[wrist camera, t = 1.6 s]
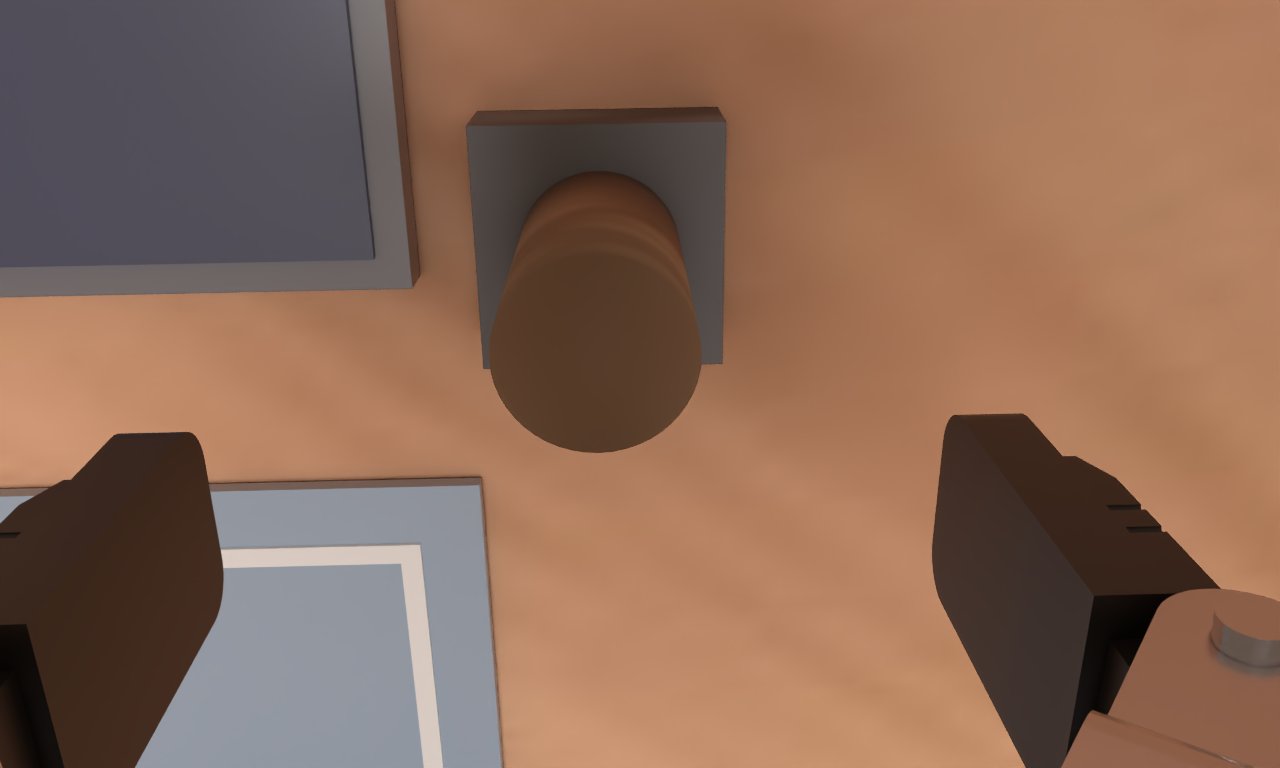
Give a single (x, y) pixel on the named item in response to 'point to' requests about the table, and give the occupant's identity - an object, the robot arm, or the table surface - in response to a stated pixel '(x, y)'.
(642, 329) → the stamp
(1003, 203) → the table surface
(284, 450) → the table surface
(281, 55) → the pad
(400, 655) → the mat
